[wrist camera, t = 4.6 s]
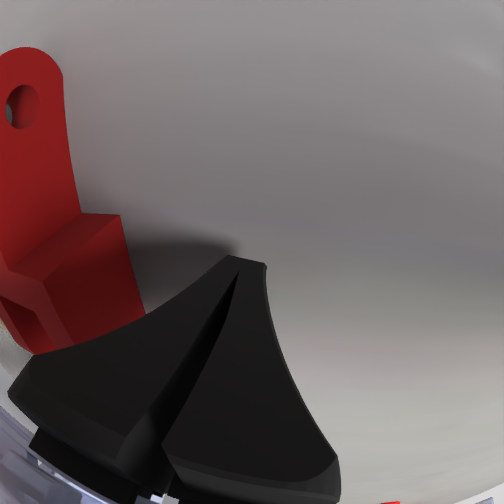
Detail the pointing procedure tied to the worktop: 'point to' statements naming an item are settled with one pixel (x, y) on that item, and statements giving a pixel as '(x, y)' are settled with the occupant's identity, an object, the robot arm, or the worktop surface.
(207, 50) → the worktop surface
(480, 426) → the worktop surface
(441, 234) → the worktop surface
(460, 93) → the worktop surface
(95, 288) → the mechanical linkage
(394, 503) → the tow hook
